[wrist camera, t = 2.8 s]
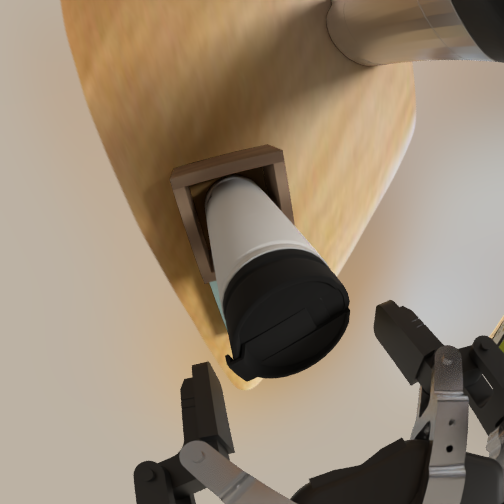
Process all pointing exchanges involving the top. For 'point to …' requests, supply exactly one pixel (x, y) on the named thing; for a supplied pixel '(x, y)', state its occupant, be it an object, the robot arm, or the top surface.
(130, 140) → the top surface
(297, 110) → the top surface
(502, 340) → the tea box
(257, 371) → the travel mug
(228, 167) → the holder
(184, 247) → the top surface
